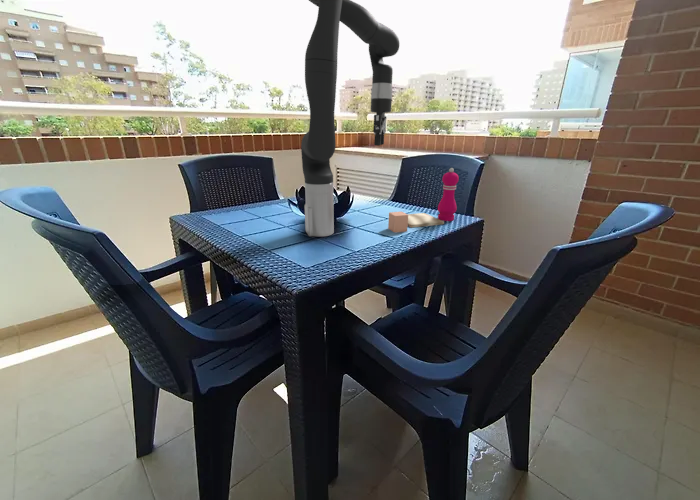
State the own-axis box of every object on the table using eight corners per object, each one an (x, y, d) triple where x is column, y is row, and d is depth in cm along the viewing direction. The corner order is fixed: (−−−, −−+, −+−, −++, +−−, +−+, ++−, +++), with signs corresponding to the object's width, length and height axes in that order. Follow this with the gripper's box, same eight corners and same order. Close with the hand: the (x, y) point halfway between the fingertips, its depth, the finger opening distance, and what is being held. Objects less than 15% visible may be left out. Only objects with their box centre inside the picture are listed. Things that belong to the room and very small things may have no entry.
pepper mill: (457, 221, 124) (464, 169, 117) (438, 221, 124) (444, 169, 117) (452, 216, 131) (458, 166, 123) (434, 216, 131) (439, 166, 124)
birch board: (411, 227, 116) (411, 224, 116) (394, 217, 128) (394, 215, 128) (443, 224, 120) (444, 221, 120) (424, 215, 133) (424, 212, 132)
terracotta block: (394, 232, 110) (395, 216, 108) (388, 228, 115) (389, 212, 113) (407, 231, 112) (408, 214, 110) (400, 227, 116) (401, 211, 114)
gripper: (389, 96, 108) (386, 146, 114) (393, 99, 121) (391, 144, 127) (367, 96, 110) (365, 145, 115) (374, 99, 123) (372, 144, 128)
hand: (379, 145), depth 121 cm, fingers open, 8 cm apart
